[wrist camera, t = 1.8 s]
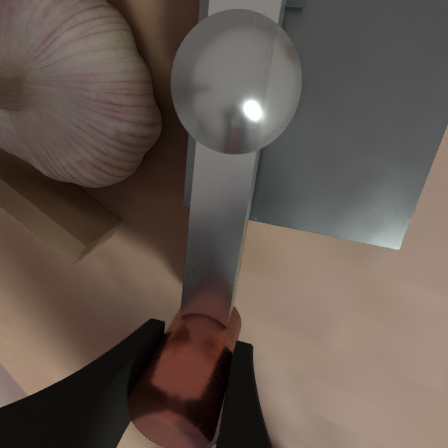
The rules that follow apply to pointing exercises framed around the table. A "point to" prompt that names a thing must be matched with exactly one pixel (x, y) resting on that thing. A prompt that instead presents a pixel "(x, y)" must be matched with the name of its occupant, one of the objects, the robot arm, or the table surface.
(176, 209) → the table surface
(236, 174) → the lever
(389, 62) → the base
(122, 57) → the garlic bulb
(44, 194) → the bar
